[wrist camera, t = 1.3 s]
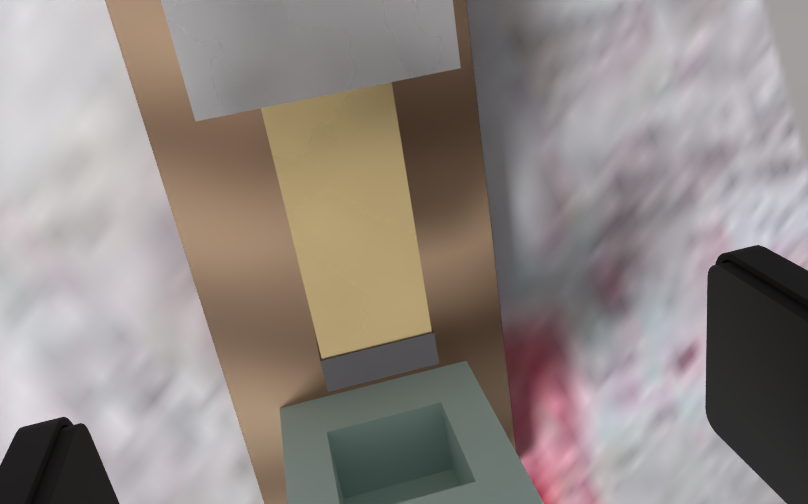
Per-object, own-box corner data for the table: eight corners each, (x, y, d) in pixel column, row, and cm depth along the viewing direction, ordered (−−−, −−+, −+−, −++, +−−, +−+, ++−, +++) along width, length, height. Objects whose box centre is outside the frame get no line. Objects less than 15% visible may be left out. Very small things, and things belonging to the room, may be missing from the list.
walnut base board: (-80, -627, 15) (-112, -682, 14) (374, -657, 16) (386, -711, 15) (280, 530, 30) (282, 559, 28) (508, 467, 31) (520, 491, 29)
